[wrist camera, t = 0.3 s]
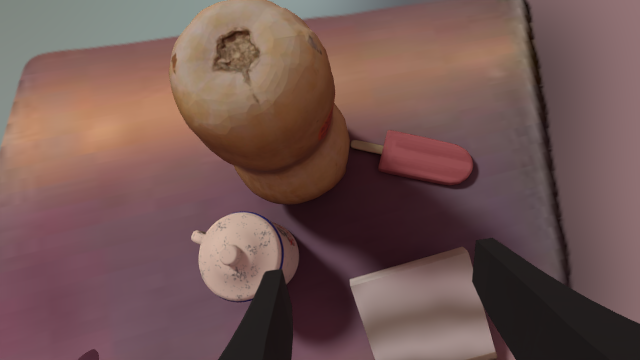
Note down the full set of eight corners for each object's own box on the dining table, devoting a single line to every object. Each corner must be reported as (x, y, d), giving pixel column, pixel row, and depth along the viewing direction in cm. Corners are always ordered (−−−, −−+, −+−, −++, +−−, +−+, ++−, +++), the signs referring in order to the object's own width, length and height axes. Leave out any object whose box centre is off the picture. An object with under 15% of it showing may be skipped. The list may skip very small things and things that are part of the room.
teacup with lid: (311, 233, 44) (288, 223, 32) (287, 305, 42) (253, 321, 31) (228, 205, 46) (180, 186, 35) (202, 271, 45) (143, 274, 34)
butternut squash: (345, 218, 43) (304, 162, 19) (245, 204, 46) (98, 141, 22) (359, 114, 46) (338, -47, 22) (264, 107, 49) (153, -43, 25)
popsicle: (355, 122, 45) (477, 146, 41) (356, 126, 46) (474, 150, 43) (344, 161, 44) (468, 189, 41) (346, 164, 45) (465, 191, 42)
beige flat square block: (490, 347, 37) (497, 358, 36) (382, 376, 38) (384, 387, 37) (462, 246, 35) (468, 252, 34) (349, 279, 36) (350, 286, 35)
